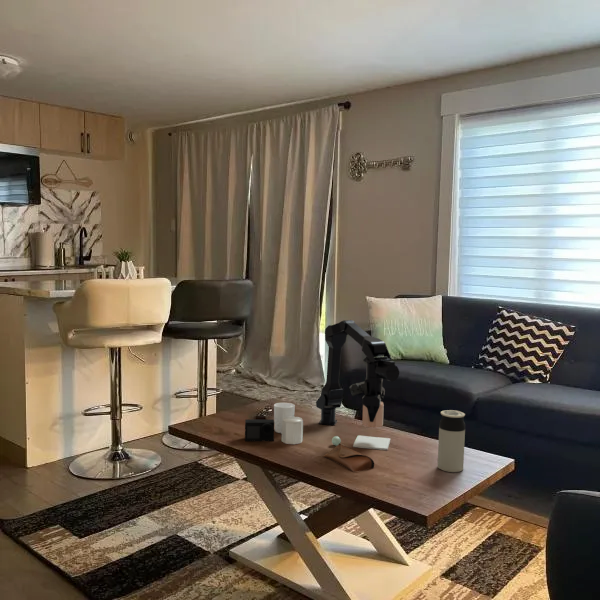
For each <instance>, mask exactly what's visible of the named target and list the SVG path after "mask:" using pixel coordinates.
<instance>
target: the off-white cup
mask: <svg viewBox="0 0 600 600" xmlns="http://www.w3.org/2000/svg"><path fill="white" fill-rule="evenodd" d="M303 435H304V420H303V418H302V417H299V416H294V417H285V418H283V421H282V433H281V442H283V444H286V445H287V444H288V445H298V444H301V443H302V442H303V441H304V439H303V438H304V437H303Z"/></svg>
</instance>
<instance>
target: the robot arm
mask: <svg viewBox="0 0 600 600" xmlns="http://www.w3.org/2000/svg"><path fill="white" fill-rule="evenodd" d="M348 336H349V337H351V339H353V340H354V341H355V342H356V343H357V344H358V345H360V348H361V351H362V352H363V354H364V355H365V357H364V358H363V359H362V361H363V362H365V363H366V369H365V370H366V371H365V372H366V374H365V375H366V377H365V379H364V381H360V382H356V383H352V384H351V385H350V386H349V389H350V390H349V392H350V394H351V396H352V397H354V396H356V395H359V394H363V396H362V398H361V405H362V406H363V405H364V406H366V407H367V410H368V414H369V419H370V422H373V421H374V419H375V416H376V414H377V412H378V409H379V407H380V403H381V402H383V400H384V396H385V392H386V390H385V389H386V388H384V386H383V381H384V380H385V381H388V382H391V383H392V382H396V381H397V380H398V378H399V377H400V369H399V367H398V365H396V362H395V361H394V360H392V357H391V353H390V352H389V349H388V347H387V344H386V342H385V341H384V340H382V339H380V338H377V337H375V336H372V335H370V334H369V333H368V332H366V331H365V330H364V329H363V328H362V327H360V326H359V325H358V324H357V323H356V322H355V320H352V319H346V320H344V319H343V320H341V321H340V322H337V323H334V324H330V325H327V326H326V327H325V329H324V337H325V338H324V341H325V343H326V344H327V346H328V350H327V351H328V353H327V367H326V380H325V384H324V385H323V387H322V388H321V392H320V396H319V397H318V399H316V401H315V407H316V409H319V410H320V420H319V421H318V424H319V425H326V426H327V425H328V426H329V425H330V426H335V425H336V424H337V422H338V419H336V412H337V411H336V409H339V408H341V406H342V403H343V400H344V389H343V388H342V387H341V385H340V373H341V360H342V359H341V357H342V348H343V346H344V345H345V343H346V341H347V337H348Z"/></svg>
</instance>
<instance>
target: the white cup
mask: <svg viewBox="0 0 600 600" xmlns="http://www.w3.org/2000/svg"><path fill="white" fill-rule="evenodd" d="M295 406H296V405H295V404H294V403H291V402H276V403H274V404H273V420H274V432H275V433H278V434H282V421H283V418H285V417H295V409H296V408H295Z"/></svg>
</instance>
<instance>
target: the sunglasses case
mask: <svg viewBox="0 0 600 600" xmlns="http://www.w3.org/2000/svg"><path fill="white" fill-rule="evenodd" d="M321 457H323V458H325V459H327V460H330V461H332V462H334V463H336V464H338V465H340V466H342V467H344V468H345V469H347V470H349V471H350V472H353V473H357V472H361V471H366V470H370V469H374V468H375V462H374V460H373V458H371V457H369V456H367V455H364V454H362V453H360V452H359V451H356V450H354V449H352V448H349V447H347V446H346V445H345V446H344V445H343V444H342V443H339V445H337V446H336V445H335V447H333V448H331V449H330V450H329V451H328V452H327V453H326V454H324V455H322V456H321Z"/></svg>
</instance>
